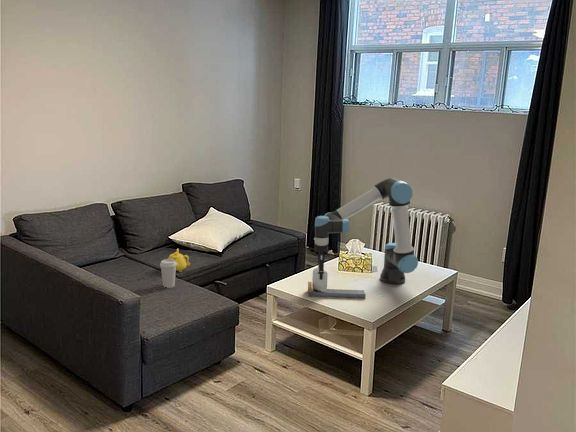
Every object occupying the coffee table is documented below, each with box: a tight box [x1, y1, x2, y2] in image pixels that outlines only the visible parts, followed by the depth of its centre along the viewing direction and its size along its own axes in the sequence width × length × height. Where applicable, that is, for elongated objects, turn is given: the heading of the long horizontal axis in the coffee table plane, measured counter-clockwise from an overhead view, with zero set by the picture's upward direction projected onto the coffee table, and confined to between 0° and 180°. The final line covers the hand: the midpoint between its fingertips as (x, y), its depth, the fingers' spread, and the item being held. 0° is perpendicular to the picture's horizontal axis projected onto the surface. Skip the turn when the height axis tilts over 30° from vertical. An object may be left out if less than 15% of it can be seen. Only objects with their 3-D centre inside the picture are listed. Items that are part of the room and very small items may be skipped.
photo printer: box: [311, 267, 328, 292], centre depth 312 cm, size 10×4×12 cm, turn 34°
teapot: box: [167, 248, 191, 273], centre depth 344 cm, size 20×15×12 cm
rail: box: [307, 281, 367, 300], centre depth 311 cm, size 32×9×6 cm, turn 88°
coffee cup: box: [159, 258, 177, 289], centre depth 317 cm, size 10×10×15 cm
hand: (320, 280), depth 311 cm, fingers open, 13 cm apart
